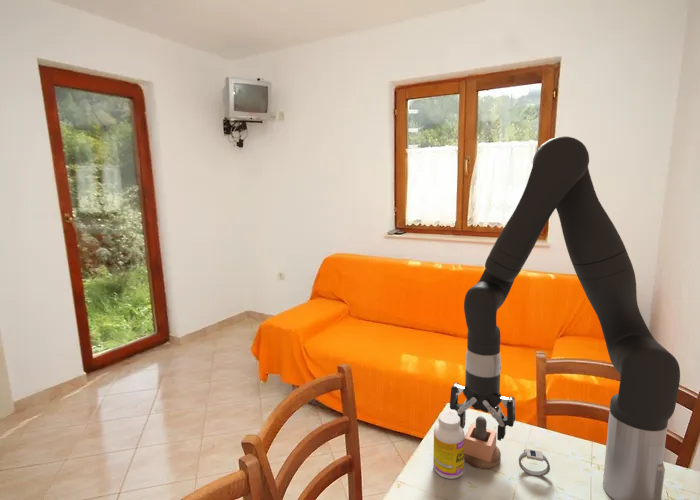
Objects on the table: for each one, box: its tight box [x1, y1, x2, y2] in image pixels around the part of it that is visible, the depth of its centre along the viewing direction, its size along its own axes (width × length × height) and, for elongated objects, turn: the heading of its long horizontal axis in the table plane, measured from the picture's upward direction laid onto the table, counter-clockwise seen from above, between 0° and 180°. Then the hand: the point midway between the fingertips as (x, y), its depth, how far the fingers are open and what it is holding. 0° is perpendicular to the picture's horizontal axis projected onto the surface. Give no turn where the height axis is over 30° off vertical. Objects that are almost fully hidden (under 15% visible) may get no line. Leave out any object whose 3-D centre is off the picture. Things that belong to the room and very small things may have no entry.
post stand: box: [464, 415, 502, 471], centre depth 91 cm, size 9×9×10 cm
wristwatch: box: [518, 448, 551, 477], centre depth 85 cm, size 6×3×5 cm, turn 70°
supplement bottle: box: [432, 411, 465, 480], centre depth 87 cm, size 7×7×13 cm
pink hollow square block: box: [464, 424, 498, 462], centre depth 91 cm, size 6×6×4 cm
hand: (480, 432), depth 91 cm, fingers open, 8 cm apart
